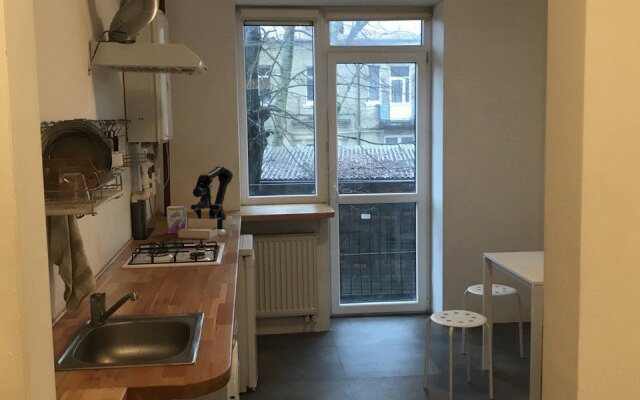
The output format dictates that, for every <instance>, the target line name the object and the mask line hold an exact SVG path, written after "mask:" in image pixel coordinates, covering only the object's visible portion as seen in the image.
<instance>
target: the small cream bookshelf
mask: <svg viewBox="0 0 640 400" xmlns="http://www.w3.org/2000/svg"><path fill="white" fill-rule="evenodd" d="M218 236H219V235H218V229H214V228H200V227H187V228H186V229H181V230H179V231H178V234H177V238H178V239H193V238H195V239H200V240H201V239H202V240H203V239H204V240H209V239H213V238H215V237H218ZM195 239H194V240H195Z"/></svg>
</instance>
